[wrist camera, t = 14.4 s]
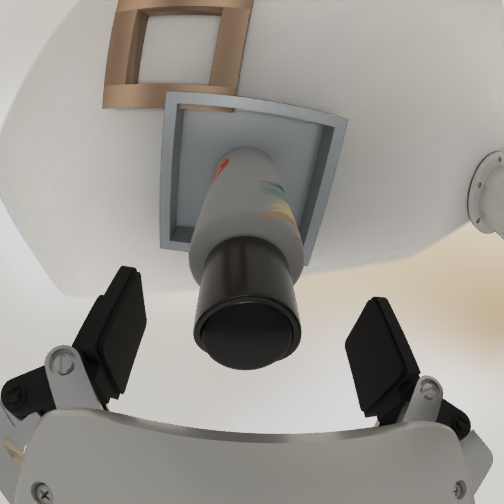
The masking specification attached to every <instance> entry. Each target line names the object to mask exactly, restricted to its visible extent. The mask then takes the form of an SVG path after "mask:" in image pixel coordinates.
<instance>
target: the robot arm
mask: <svg viewBox="0 0 504 504" xmlns="http://www.w3.org/2000/svg"><path fill="white" fill-rule="evenodd" d="M468 209H469V216H470V219H471V222H472V224H473V225H474V226H475V227H476V228H477V229H478V230H479V231H481V232H483V233H492V232H497V233H498V234H499V235H500V236H501V237H502V238H503V239H504V153H503V152H495V153H492V154H490V155H489V156H487V157H486V158H485V160H484V161H483V162H482V163H481V165H480V166H479V167H478V169H477V171H476V173H475V175H474V178H473V181H472V184H471V188H470V192H469V199H468ZM146 322H147V319H146V313H145V305H144V298H143V290H142V282H141V274H140V272H137V270H136V268H133V267H127V266H121V267H120V269H119V270H118V272H117V274H116V275H115V277H114V279H113V281H112V282H111V284H110V286H109V287H108V289H107V291H106V293H105V294H104V295H100V296H99V297H98V298H97V300H96V302H95V303H94V305H93V307H92V309H91V311H90V312H89V314H88V316H87V318H86V320H85V321H84V323H83V325H82V327H81V329H80V331H79V333H78V335H77V337H76V339H75V341H74V343H73V345H72V347H71V346H66V345H62V346H57V347H55V348H53V349H52V350H51V351H50V352H49V353H48V355H47V356H46V359H45V365H44V366H42V367H39V368H37V369H35V370H32V371H30V372H27V373H25V374H23V375H20V376H18V377H15V378H13V379H11V380H9V381H7V382H6V383H5V385H4V386H3V388H2V391H1V398H0V490H1V492H2V493H3V495H4V496H5V497H6V499H7V500H8V501H9V503H10V504H475V500H474V494H475V493H476V491H477V489H478V488H479V486H480V484H481V483H482V481H483V480H484V478H485V476H486V475H487V473H488V471H489V469H490V467H491V465H492V462H493V456H492V453H491V451H490V450H489V448H488V447H487V446H486V445H485V443H484V442H483V441H482V440H481V439H480V437H479V436H478V435H477V434H476V433H475V431H474V430H472V431H470V428H471V425H470V420H469V418H468V416H467V415H466V414H465V413H464V412H462V411H461V410H459V409H458V408H456V407H455V406H453V405H452V404H450V403H449V402H447V401H446V400H444V399H443V390H442V387H441V385H440V384H439V382H438V381H437V380H436V379H435V378H433V377H431V376H422V377H421V378H420V377H419V374H420V373H421V372H420V370H419V367H418V365H417V363H416V360H415V358H414V356H413V353H412V351H411V349H410V346H409V344H408V342H407V340H406V338H405V335H404V333H403V331H402V329H401V327H400V325H399V322H398V321H397V318H396V316H395V314H394V312H393V310H392V308H391V306H390V304H389V302H388V300H387V299H386V298H384V297H373V298H372V299H371V300H369V301H368V302H367V304H366V306H365V307H364V309H363V311H362V313H361V315H360V316H359V318H358V320H357V322H356V324H355V325H354V327H353V329H352V331H351V332H350V334H349V336H348V338H347V339H346V342H345V349H346V352H347V356H348V360H349V363H350V368H351V372H352V375H353V379H354V383H355V387H356V391H357V395H358V399H359V404H360V408H361V410H362V411H364V414H365V417H371V416H376V415H377V419H378V420H377V422H376V424H375V426H374V427H371V428H364V429H357V430H349V431H338V432H326V433H308V434H255V433H237V432H225V431H214V430H205V429H198V428H191V427H184V426H178V425H172V424H166V423H161V422H156V421H151V420H146V419H140V418H136V417H132V416H128V415H123V414H119V413H114V412H110V410H109V408H108V406H107V403H109V400H110V398H114V399H117V400H118V398H119V395H120V393H121V394H123V393H124V392H125V389H126V385H127V382H128V379H129V375H130V372H131V369H132V366H133V363H134V359H135V357H136V354H137V351H138V348H139V345H140V342H141V339H142V336H143V333H144V330H145V328H146ZM27 443H28V444H27ZM26 444H27V447H26V450H25V453H23V451H24V447H25V445H26Z"/></svg>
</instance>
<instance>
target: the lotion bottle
mask: <svg viewBox="0 0 504 504" xmlns="http://www.w3.org/2000/svg"><path fill="white" fill-rule="evenodd" d="M189 265H190V269H191V272H192V275H193V277H194V279H195V280H196V282H197V283H198V285H199V286H200V292H199V298H198V304H197V310H196V316H195V323H194V332H193V334H194V339H195V342H196V344H197V345H198V346H199V347H200V348H201V349H202V350H203V351H205V352H207V353H208V354H209V355H210V357H211V358H212V359H214V360H215V361H216V362H218V363H220V364H221V365H223V366H226V367H229V368H232V369H237V370H254V369H258V368H262V367H265V366H268V365H270V364H272V363H274V362H275V361H279V360H282V359H284V358H286V357H288V356H289V355H291V354H292V353H293V352H294V351H295V350H296V348H297V347H298V345H299V343H300V339H301V325H300V319H299V314H298V309H297V303H296V298H295V294H294V289H293V285H294V284H295V283H296V282H297V280H298V278H299V277H300V275H301V272H302V269H303V265H304V248H303V244H302V240H301V237H300V233H299V230H298V228H297V225H296V222H295V219H294V216H293V214H292V211H291V208H290V205H289V203H288V200H287V197H286V195H285V192H284V190H283V187H282V184H281V182H280V179H279V177H278V174H277V171H276V169H275V167H274V165H273V163H272V161H271V160H270V158H269V157H268V156H267V155H266V154H265V153H263V152H262V151H260V150H258V149H255V148H251V147H241V148H237V149H234V150H232V151H230V152H229V153H227V154H226V155H225V156H224V157H223V158H222V159H221V161H220V162H219V164H218V166H217V169H216V171H215V174H214V176H213V179H212V182H211V184H210V187H209V190H208V193H207V195H206V198H205V201H204V204H203V207H202V209H201V212H200V215H199V218H198V221H197V224H196V227H195V230H194V233H193V237H192V240H191V244H190V248H189Z"/></svg>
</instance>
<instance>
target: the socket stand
mask: <svg viewBox="0 0 504 504" xmlns="http://www.w3.org/2000/svg"><path fill="white" fill-rule="evenodd" d="M253 1H254V0H119V1H118V5H117V9H116V13H115V18H114V22H113V27H112V32H111V38H110V44H109V50H108V57H107V64H106V72H105V82H104V93H103V107H102V109H106V108H165V102H166V94H167V92H194V93H208V94H219V95H229V96H236V94H237V88H238V81H239V76H240V70H241V64H242V58H243V53H244V47H245V42H246V36H247V31H248V26H249V21H250V16H251V11H252V6H253ZM180 14H199V15H222V17H221V22H220V27H219V32H218V37H217V43H216V48H215V54H214V60H213V66H212V72H211V79H210V85H209V86H206V85H190V84H137V83H138V75H139V67H140V60H141V53H142V47H143V41H144V36H145V30H146V25H147V20H148V16H157V15H180ZM179 109H195V110H208V111H218V112H228V113H233V111H234V108H228V107H219V106H208V105H196V104H180V107H179Z"/></svg>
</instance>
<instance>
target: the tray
mask: <svg viewBox="0 0 504 504" xmlns="http://www.w3.org/2000/svg"><path fill="white" fill-rule="evenodd" d="M180 104H196V105H208V106H219V107H228V108H234V111H233V113H228V112H218V111H208V110H195V109H179V107H180ZM347 122H348V119H346V118H342V117H339V116H336V115H332V114H328V113H325V112H321V111H316V110H312V109H308V108H303V107H299V106H294V105H289V104H284V103H279V102H273V101H267V100H261V99H254V98H247V97H240V96H229V95H219V94H208V93H194V92H167V94H166V102H165V112H164V123H163V136H162V151H161V171H160V248H162V249H170V250H178V251H186V252H189V248H190V244H191V240H192V237H193V233H194V230H195V227H196V224H197V221H198V218H199V215H200V212H201V209H202V207H203V204H204V201H205V198H206V195H207V193H208V190H209V187H210V184H211V182H212V179H213V176H214V174H215V171H216V169H217V166H218V164H219V162H220V161H221V159H222V158H223V157H224V156H225V155H226V154H227V153H229V152H230V151H232V150H234V149H237V148H241V147H251V148H255V149H258V150H260V151H262V152H263V153H265V154H266V155H267V156H268V157H269V158H270V160H271V161H272V163H273V165H274V167H275V169H276V171H277V174H278V177H279V179H280V182H281V184H282V187H283V190H284V192H285V195H286V197H287V200H288V203H289V205H290V208H291V211H292V214H293V216H294V219H295V222H296V225H297V228H298V230H299V233H300V237H301V240H302V244H303V248H304V265H303V266H308V263H309V260H310V257H311V253H312V250H313V247H314V244H315V241H316V237H317V234H318V231H319V228H320V224H321V221H322V217H323V214H324V211H325V207H326V204H327V200H328V196H329V193H330V189H331V186H332V182H333V178H334V174H335V171H336V167H337V163H338V159H339V155H340V151H341V147H342V143H343V139H344V135H345V131H346V126H347Z"/></svg>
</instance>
